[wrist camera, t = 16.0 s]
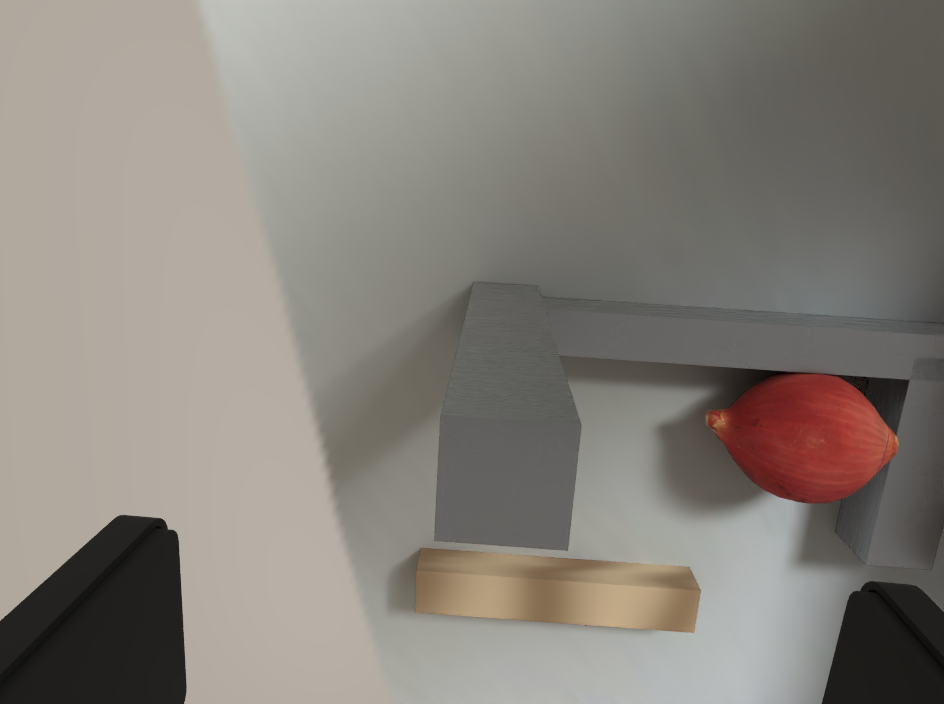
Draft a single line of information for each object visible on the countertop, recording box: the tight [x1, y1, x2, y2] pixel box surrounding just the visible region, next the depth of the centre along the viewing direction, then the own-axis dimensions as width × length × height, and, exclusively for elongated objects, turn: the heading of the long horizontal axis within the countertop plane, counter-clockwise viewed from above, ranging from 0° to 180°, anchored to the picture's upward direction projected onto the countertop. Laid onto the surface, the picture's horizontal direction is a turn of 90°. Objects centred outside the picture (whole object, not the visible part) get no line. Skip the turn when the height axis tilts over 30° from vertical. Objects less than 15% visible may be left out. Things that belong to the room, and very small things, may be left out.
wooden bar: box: [415, 548, 701, 633], centre depth 35 cm, size 14×2×2 cm, turn 87°
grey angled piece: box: [434, 282, 944, 570], centre depth 24 cm, size 12×22×18 cm, turn 87°
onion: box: [705, 372, 899, 503], centre depth 30 cm, size 6×6×8 cm
